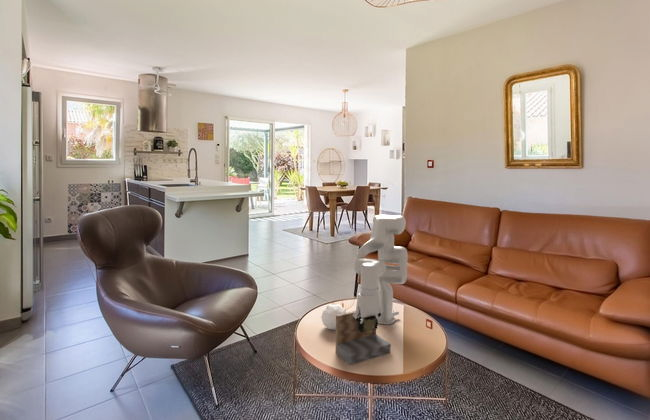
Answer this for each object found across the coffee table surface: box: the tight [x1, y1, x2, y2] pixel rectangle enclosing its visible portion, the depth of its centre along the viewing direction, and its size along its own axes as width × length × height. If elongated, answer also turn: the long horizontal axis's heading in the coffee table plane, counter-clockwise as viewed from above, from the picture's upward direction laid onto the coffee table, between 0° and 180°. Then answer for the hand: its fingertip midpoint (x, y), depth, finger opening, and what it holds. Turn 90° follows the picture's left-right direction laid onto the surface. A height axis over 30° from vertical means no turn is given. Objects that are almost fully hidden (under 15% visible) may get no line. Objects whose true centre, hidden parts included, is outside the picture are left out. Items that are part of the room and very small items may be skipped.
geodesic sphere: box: [320, 303, 347, 331], centre depth 191 cm, size 14×14×14 cm
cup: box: [360, 315, 376, 334], centre depth 162 cm, size 8×7×8 cm
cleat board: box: [334, 310, 391, 366], centre depth 166 cm, size 22×12×18 cm, turn 119°
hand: (367, 329), depth 162 cm, fingers closed on cup, 7 cm apart
